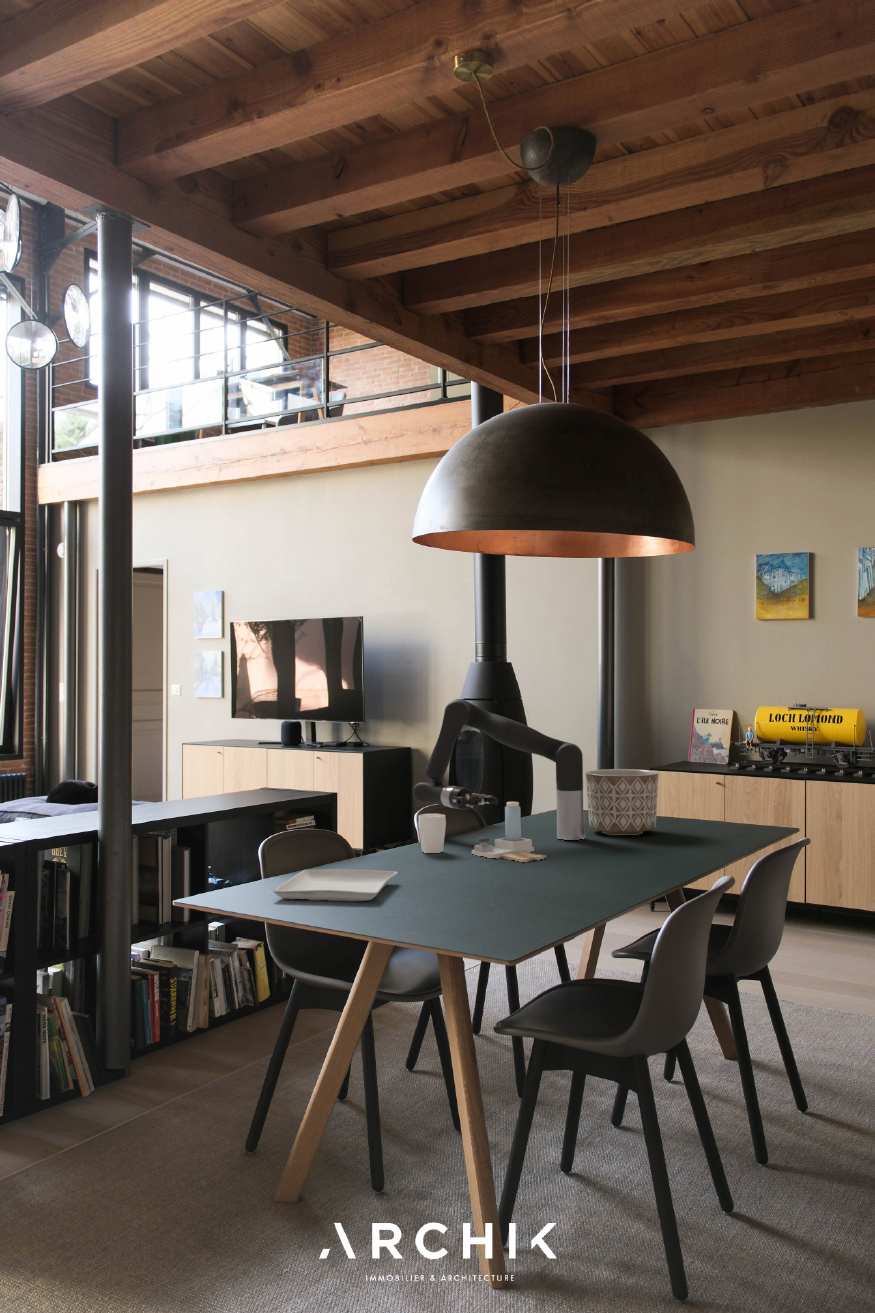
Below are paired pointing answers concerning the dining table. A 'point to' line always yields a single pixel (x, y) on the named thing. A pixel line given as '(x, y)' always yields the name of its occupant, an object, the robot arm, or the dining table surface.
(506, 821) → the bottle
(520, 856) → the coaster
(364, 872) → the square plate
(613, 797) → the planter
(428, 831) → the cup
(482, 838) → the plunger
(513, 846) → the housing
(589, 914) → the dining table surface
